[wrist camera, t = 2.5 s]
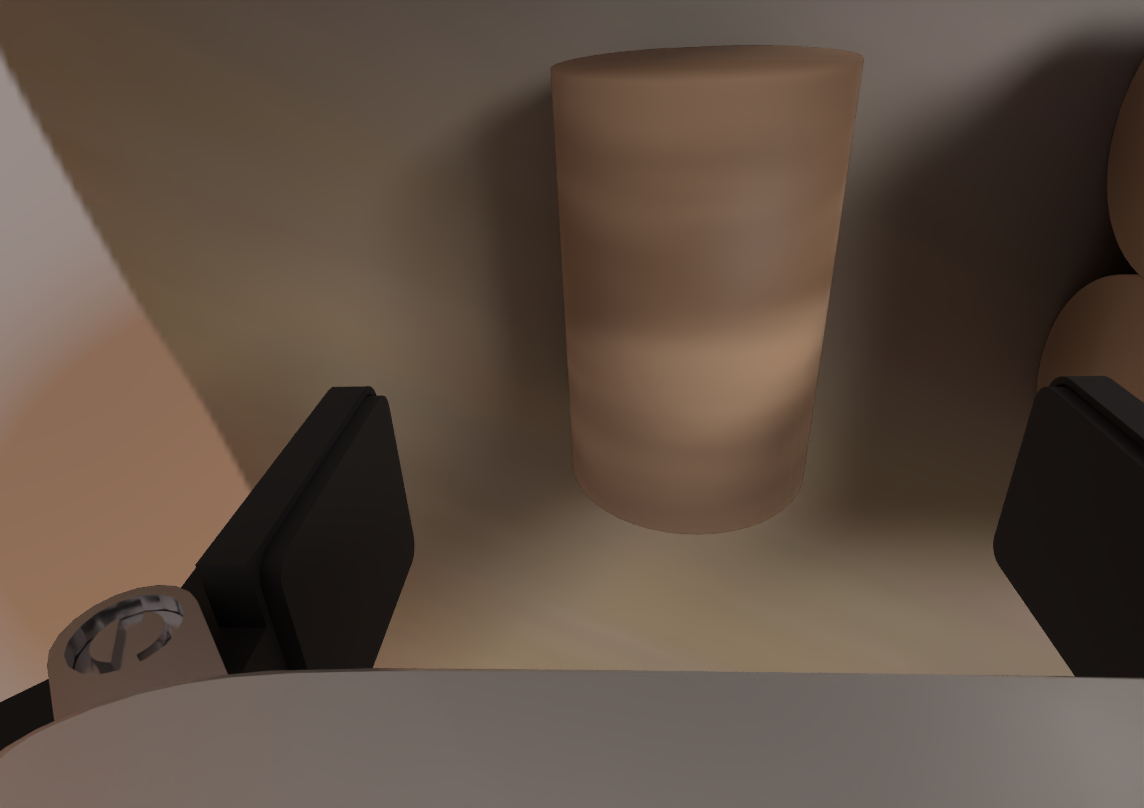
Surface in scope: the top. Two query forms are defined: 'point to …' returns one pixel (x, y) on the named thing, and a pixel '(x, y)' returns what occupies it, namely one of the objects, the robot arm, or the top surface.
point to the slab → (1113, 303)
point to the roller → (698, 271)
